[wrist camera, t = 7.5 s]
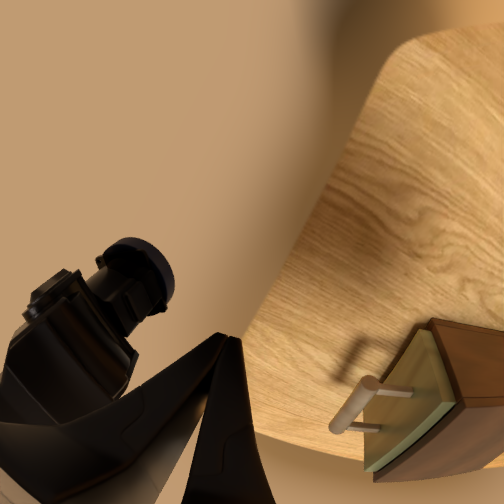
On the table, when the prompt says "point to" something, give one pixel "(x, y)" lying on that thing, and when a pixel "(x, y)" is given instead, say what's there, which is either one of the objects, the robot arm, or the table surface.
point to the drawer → (399, 403)
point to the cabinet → (460, 408)
